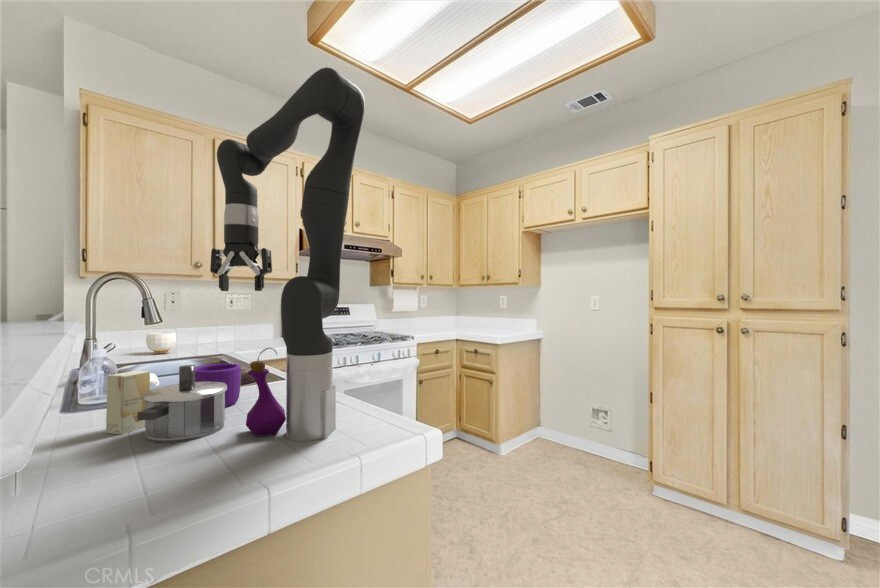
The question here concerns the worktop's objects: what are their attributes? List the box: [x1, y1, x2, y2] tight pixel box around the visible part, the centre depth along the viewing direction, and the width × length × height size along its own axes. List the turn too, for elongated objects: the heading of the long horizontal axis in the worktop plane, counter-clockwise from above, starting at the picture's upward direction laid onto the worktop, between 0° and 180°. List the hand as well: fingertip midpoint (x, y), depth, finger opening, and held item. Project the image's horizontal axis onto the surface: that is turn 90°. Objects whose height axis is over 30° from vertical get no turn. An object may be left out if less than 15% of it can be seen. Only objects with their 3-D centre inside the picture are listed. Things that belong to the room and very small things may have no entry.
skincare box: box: [105, 370, 151, 435], centre depth 82 cm, size 6×4×12 cm
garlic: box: [150, 372, 160, 387], centre depth 122 cm, size 8×7×4 cm
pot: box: [137, 392, 226, 444], centre depth 81 cm, size 14×22×8 cm, turn 177°
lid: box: [143, 364, 227, 403], centre depth 81 cm, size 15×15×7 cm
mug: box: [195, 363, 242, 408], centre depth 103 cm, size 17×11×10 cm, turn 44°
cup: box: [145, 331, 177, 354], centre depth 192 cm, size 12×12×10 cm
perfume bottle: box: [245, 346, 286, 437], centre depth 81 cm, size 8×8×18 cm
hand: (241, 291), depth 93 cm, fingers open, 8 cm apart
